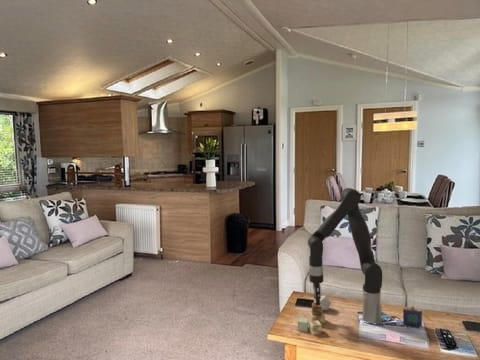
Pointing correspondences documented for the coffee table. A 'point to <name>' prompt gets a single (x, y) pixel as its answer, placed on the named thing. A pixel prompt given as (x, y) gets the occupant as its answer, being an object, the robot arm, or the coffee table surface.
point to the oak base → (317, 318)
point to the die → (324, 302)
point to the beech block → (315, 327)
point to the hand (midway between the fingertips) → (317, 301)
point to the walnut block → (316, 309)
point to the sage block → (303, 324)
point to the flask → (412, 317)
